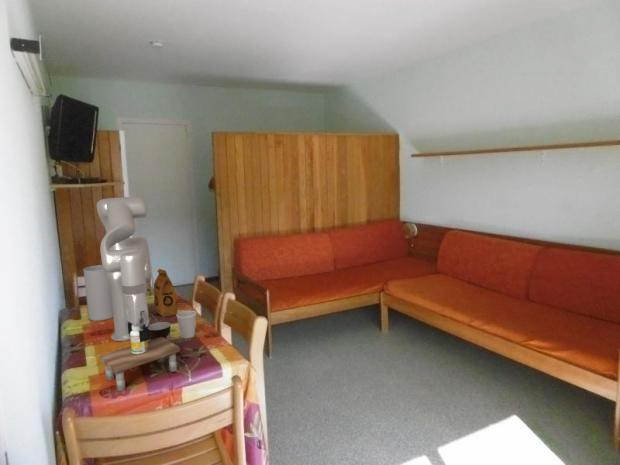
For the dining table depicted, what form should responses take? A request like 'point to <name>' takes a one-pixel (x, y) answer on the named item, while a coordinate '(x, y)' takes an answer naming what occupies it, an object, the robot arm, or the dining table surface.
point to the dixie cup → (187, 323)
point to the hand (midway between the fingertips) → (139, 336)
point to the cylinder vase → (98, 293)
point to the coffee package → (164, 295)
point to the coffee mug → (160, 330)
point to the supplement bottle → (137, 341)
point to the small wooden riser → (138, 359)
